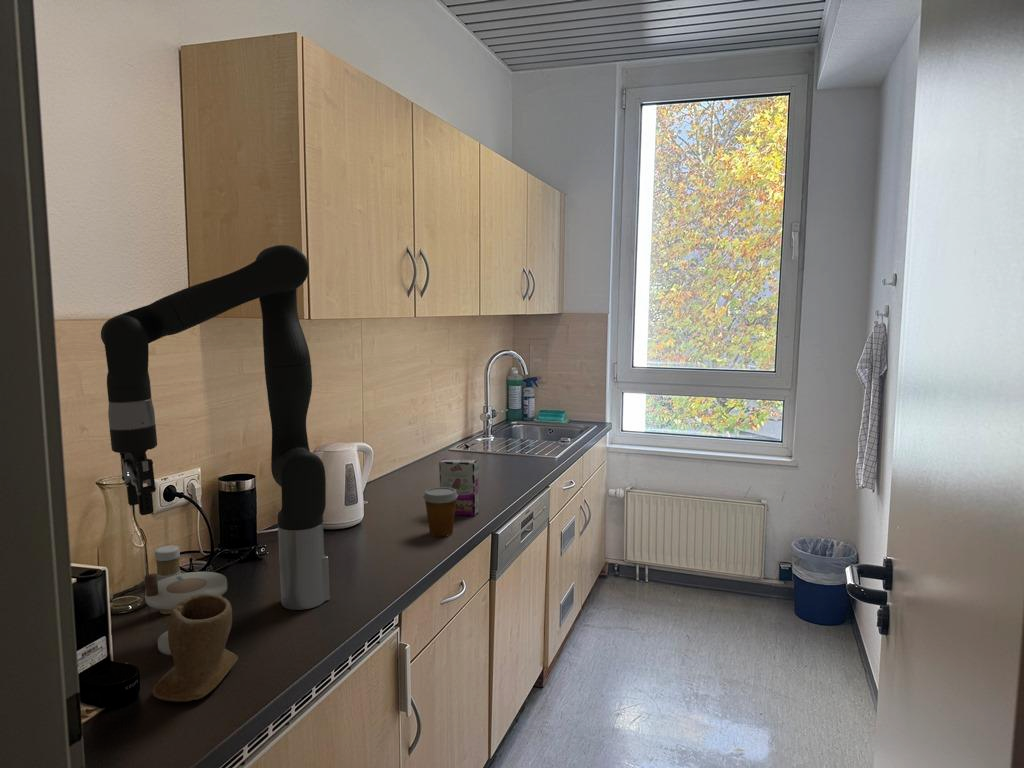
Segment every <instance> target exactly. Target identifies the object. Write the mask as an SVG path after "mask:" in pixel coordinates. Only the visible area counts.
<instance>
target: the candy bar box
mask: <svg viewBox="0 0 1024 768" xmlns="http://www.w3.org/2000/svg"><path fill="white" fill-rule="evenodd" d="M438 464H439V465H438V466H439V487H447V488H453V489H455V490H456V492H457V494H458V497H457V499H456V507H455V516H462V517H463V516H465V517H466V516H467V517H475V516H476V515H478V514H479V513H480V493H479V492H480V490H479V489H480V486H479V484H480V483H479V481H480V480H479V477H480V475H479V460H478V459H462V458H461V459H458V458H456V459H455V458H443V459H442V460H440V461H439V463H438Z"/></svg>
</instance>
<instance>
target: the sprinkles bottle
mask: <svg viewBox="0 0 1024 768" xmlns="http://www.w3.org/2000/svg"><path fill="white" fill-rule="evenodd" d="M180 551H181V550H180V546H177V545H166V546H161V547H159V548H156V550H155V551H154V558H155V559H154V560H155V561H156V572H157V573H156V574H157V581H159V580H162V579H164V578H167V577H170V576H174V575H178V574H182V573H181V568H180V567H181V566H180V555H181V553H180ZM158 610H159V613H160V614H162V615H171V613H172V611H173V609H158Z"/></svg>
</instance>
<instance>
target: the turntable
mask: <svg viewBox="0 0 1024 768" xmlns="http://www.w3.org/2000/svg"><path fill="white" fill-rule="evenodd" d="M144 586H145V592H144V594H145V595H144V597H145V603H146V604H147V606H148V607H151V608H154V609H158V610H159V609H174V608H175V607H176V605H177V604H178V603H179V602H181V601H182V600H184V599H186V598H188V597H190V596H193V595H198V594H215V595H219V596H222V597H223V595H224V594H225V593H226V592H227V590H228V579H227V577H226V576H225V575H224V574H221V573H218V572H215V571H191V572H185V573H184V572H183V573H181V574H178V575H174V576H170V577H167V578H164V579H162V580H159V581H158V580H157V573H150V574H149V573H148V574H146V575H144Z"/></svg>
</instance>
